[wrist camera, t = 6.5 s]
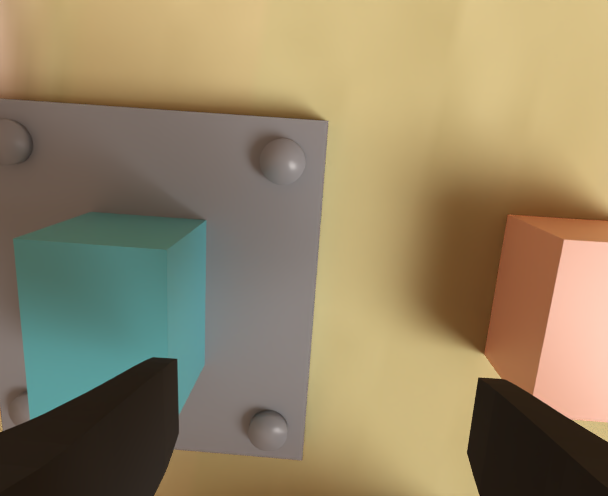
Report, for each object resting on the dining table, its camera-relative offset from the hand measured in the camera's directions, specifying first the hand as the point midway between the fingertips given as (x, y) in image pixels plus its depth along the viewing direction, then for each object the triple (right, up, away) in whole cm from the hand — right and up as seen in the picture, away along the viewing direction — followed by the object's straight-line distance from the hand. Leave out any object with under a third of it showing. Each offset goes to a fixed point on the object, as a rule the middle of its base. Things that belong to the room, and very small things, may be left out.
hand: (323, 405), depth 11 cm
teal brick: (-7, +2, +7) cm, 10 cm away
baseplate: (-6, +2, +8) cm, 11 cm away
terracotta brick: (+10, +2, +8) cm, 12 cm away
